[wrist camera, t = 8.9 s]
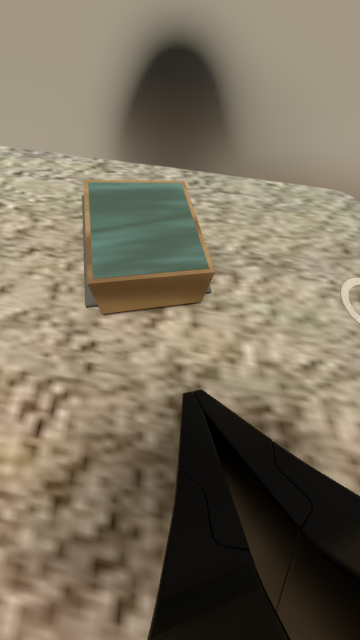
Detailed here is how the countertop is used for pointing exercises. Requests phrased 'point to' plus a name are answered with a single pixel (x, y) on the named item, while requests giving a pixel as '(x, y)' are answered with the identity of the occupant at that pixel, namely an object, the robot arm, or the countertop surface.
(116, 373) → the countertop surface
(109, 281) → the tan and teal block
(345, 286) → the teacup and saucer
